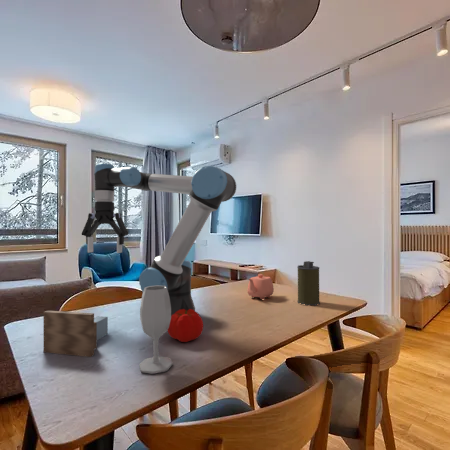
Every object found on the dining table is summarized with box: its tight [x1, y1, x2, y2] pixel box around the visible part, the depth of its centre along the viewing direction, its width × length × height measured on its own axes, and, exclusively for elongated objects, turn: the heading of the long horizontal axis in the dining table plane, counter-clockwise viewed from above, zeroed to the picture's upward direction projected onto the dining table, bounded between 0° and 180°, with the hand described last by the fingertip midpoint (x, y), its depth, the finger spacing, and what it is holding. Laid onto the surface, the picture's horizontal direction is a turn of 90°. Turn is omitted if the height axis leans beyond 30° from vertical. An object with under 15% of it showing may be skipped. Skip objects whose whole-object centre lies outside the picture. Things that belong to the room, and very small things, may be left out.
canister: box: [297, 260, 321, 306], centre depth 141 cm, size 11×10×20 cm
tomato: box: [167, 309, 204, 343], centre depth 97 cm, size 11×12×9 cm
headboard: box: [42, 310, 98, 358], centre depth 88 cm, size 16×6×12 cm, turn 78°
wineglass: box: [138, 285, 173, 375], centre depth 77 cm, size 9×9×21 cm
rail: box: [94, 315, 109, 341], centre depth 95 cm, size 4×15×6 cm, turn 168°
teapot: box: [246, 273, 275, 300], centre depth 152 cm, size 20×12×12 cm, turn 140°
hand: (104, 252), depth 121 cm, fingers open, 13 cm apart
